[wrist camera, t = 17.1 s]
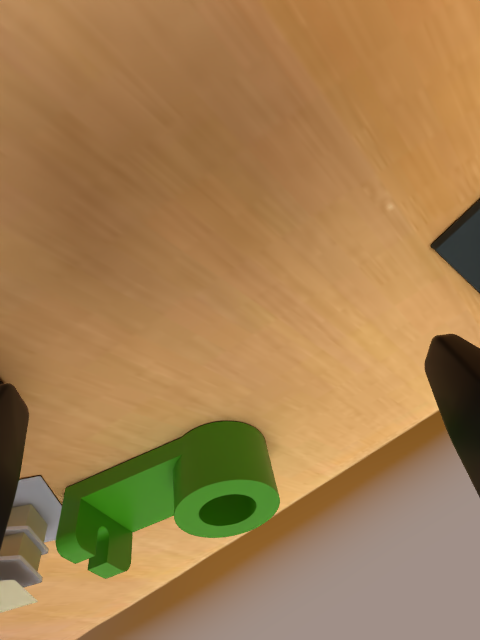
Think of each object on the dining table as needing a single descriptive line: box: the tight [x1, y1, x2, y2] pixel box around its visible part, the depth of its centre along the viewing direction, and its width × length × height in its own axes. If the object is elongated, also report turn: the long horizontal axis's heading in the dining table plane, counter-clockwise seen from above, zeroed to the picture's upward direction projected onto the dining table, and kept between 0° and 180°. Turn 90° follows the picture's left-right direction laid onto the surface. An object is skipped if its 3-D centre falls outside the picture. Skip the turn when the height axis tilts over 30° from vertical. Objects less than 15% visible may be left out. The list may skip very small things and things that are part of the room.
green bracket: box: [56, 421, 280, 579], centre depth 30 cm, size 15×7×5 cm, turn 115°
